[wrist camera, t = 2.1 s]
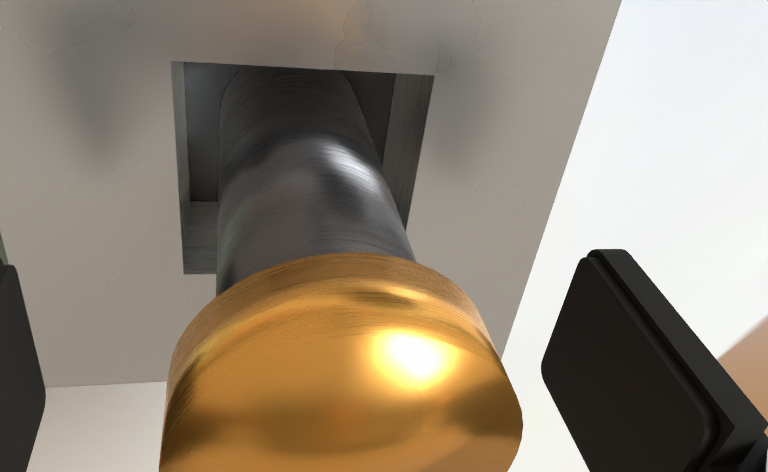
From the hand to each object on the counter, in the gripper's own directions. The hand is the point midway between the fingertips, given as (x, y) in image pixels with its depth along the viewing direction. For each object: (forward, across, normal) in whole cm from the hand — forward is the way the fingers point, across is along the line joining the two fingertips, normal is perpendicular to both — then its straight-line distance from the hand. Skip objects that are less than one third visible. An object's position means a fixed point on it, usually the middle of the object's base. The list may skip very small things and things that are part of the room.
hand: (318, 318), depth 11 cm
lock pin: (+7, 0, -1) cm, 7 cm away
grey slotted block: (+7, 0, -1) cm, 7 cm away
